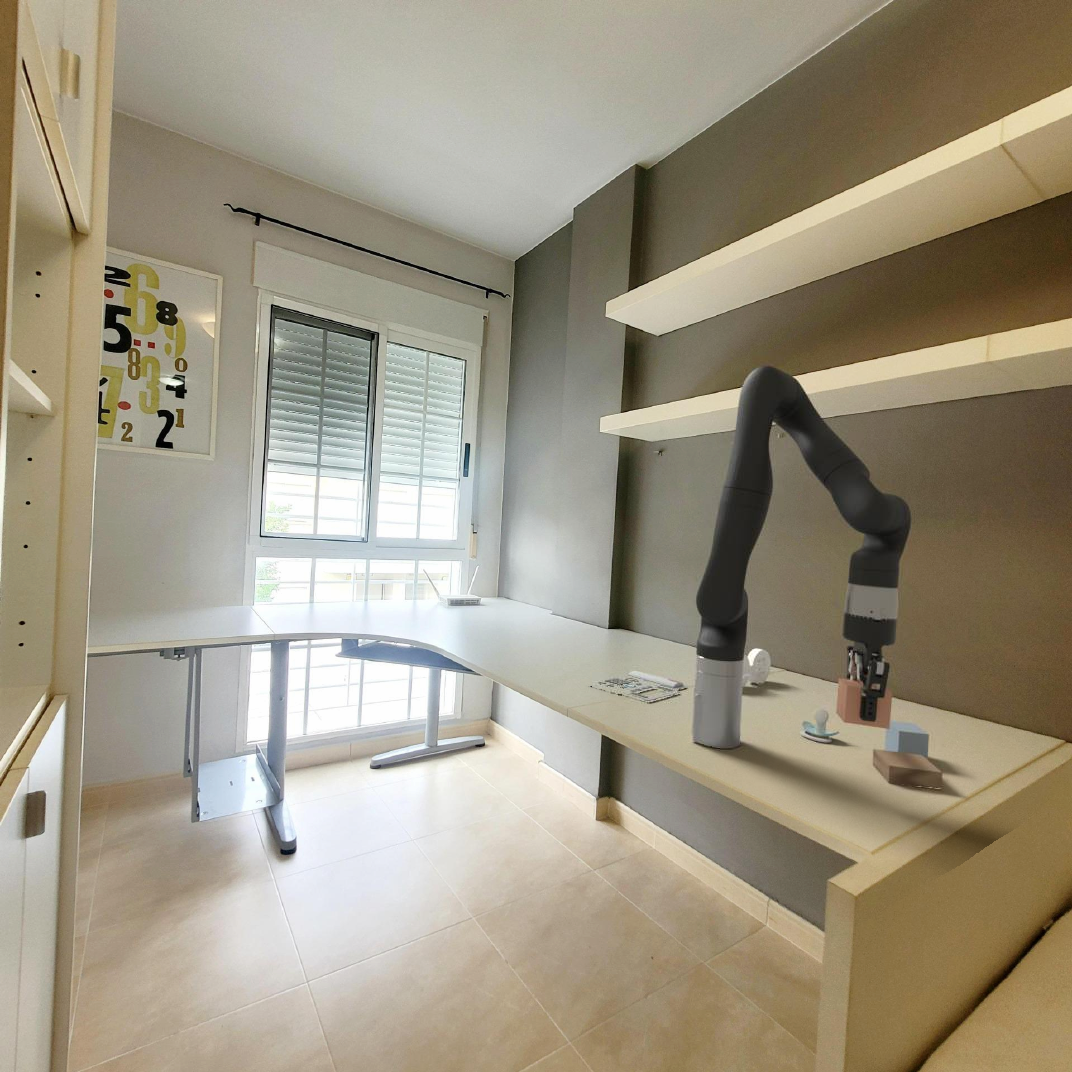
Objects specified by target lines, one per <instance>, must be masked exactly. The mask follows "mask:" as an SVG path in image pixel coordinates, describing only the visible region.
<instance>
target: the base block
mask: <svg viewBox="0 0 1072 1072" xmlns="http://www.w3.org/2000/svg"><path fill="white" fill-rule="evenodd" d="M872 766H873V767H874V768H875V770H876V771H877V772H879V773H878V774H880V775H881V776H882V777H883V778H884V779H885V781H886V782H887V783H888V784H894V785H901V784H904V785H903V786H908V785H910V786H909V787H915V786H921V787H920V788H922V787H932V788H942V789H943V772H942V771H941V770H940V769H939V768H938V767H936V765H934V764H933V763H932V762H930V760H929V759H928V760H927V759H926V758H925V757H924V756H922V755H918V754H910V753H902V752H894V751H886V750H885V749H877V748H873V750H872Z"/></svg>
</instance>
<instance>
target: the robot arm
mask: <svg viewBox="0 0 1072 1072" xmlns="http://www.w3.org/2000/svg"><path fill="white" fill-rule="evenodd" d="M736 414H737V415H736V422H735V430H734V438H733V442H732V448H731V452H730V455H729V456H730V458H729V461H728V467H727V471H726V476H725V478H724V479H725V480H724V482H723V487H722V491H721V495H720V499H719V504H718V509H717V514H716V518H715V519H716V520H715V525H714V529H713V530H714V531H713V539H712V545H711V550H710V555H709V556H708V557H709V558H708V561H707V565H706V566H705V570H704V573H703V576H702V579H701V581H700V584H699V587H698V590H697V593H696V597H695V605H696V609H697V612H698V614H699V615H700V617H701V618H700V622H701V623H700V630H699V635H698V639H697V641H696V652H695V654H696V655H695V656H696V657H695V674H694V676H695V679H694V688H693V702H692V703H693V706H692V708H693V709H692V723H691V726H692V727H691V728H692V729H691V735H692V736H693V737H692V736H691V737H692V742H693V741H694V742H693V743H697V742H698V744H701V745H703V744H704V746H706V747H707V746H708V747H710V746H712V747H711V748H717V749H735V748H738V747H739V746H740V744H741V730H742V729H741V726H742V725H741V724H742V709H743V708H742V707H743V706H742V704H743V688H744V687H743V665H744V654H745V649H746V643H747V636H748V635H747V634H748V617H749V596H748V593H747V591H746V589H745V584H746V583H745V582H746V575H747V571H748V566H749V562H750V558H751V555H752V553H753V550H754V548H755V546H756V544H757V542H758V539H759V537H760V535H761V532H762V529H763V528H764V525H765V521H766V518H767V515H768V512H769V507H770V503H771V500H772V496H773V490H774V475H773V469H772V461H771V455H770V437H771V430H772V427H773V423H774V424H776V425H777V426H778V427H780V428H781V429H782V430H783V431H784V432H786V433H787V434H788V435H789V436H790V437H791V438H792V440H793V441H794V442H795V444H796V445H797V447H798V449H799V451H800V453H801V456H802V457H803V460H804V461H805V463H806V465H807V466H808V468H809V470H810V471H811V472H812V474H813V475H814V476H815V478H816V479H818V481H819V482H820V483H821V484H822V486H824V488H825V489H826V490H827V491H828V492H829V493H830V495H831V498H832V500H833V502H834V504H835V506H836V508H837V510H838V512H839V514H840V515H841V517H842V518H843V520H844V521H845V522H846V523H847V524H848V525H849V527H850V528H852V529H853V530H855V531H857V532H859V533H861V534H864V536H863V540H862V544H861V547H860V548H859V549H857V550H856V551H854V552H852V553H851V556H850V561H849V569H848V570H849V571H848V581H847V588H846V593H845V598H844V611H843V624H842V638H844V639H845V640H848V641H851V642H853V645H847V647H846V676H845V677H846V679H848V680H854V681H859V682H860V683H861V703H860V715H859V716H860V718H861V719H862V720H864V721H871V722H874V721H875V720H876V713H877V701H878V699H880V698H884V696H885V690H886V687H887V685H888V684H887V683H888V679H889V673H890V667H891V665H890V663H889V662H886V661H885V657H884V655H883V647H884V646H888V647H889V646H893V645H895V644H896V639H897V638H896V636H897V625H898V624H897V623H898V622H897V621H898V613H899V595H898V593H899V592H898V590H899V589H898V588H899V577H900V576H899V575H900V561H901V558H902V556H903V553H904V550H905V547H906V544H907V541H908V537H909V534H910V530H911V524H912V514H911V508H910V507H909V504H908V503H907V501H905V500H904V499H903V498H901V497H900V496H897V495H895V494H890V493H885V492H881V490H880V489H878V488H877V487H876V485H874V484H873V482H872V481H871V479H870V478H871V472H870V470H869V469H868V467H867V466H866V464H865V463H864V462H863V461H862V460H861V458H860V457H859V456H857V455H856V453H855V452H854V451H853V450H852V449H851V448H850V446H848V445H847V444H846V443H845V441H843V439H841V438H840V437H839V435H837V433H836V432H835V431H834V430H833V429H832V428H831V427H830V426H829V425H828V424H827V423H826V421H824V419H823V417H822V416H821V415H820V414H819V412H818V410H817V409H816V408H815V406H814V405H813V403H812V401H811V399H810V397H809V395H808V394H807V393H806V390H805V389H804V388H803V386H802V385H801V383H800V381H799V380H797V378H796V377H793V376H792V375H790V374H788V373H787V372H784V371H783V370H781V369H779V368H777V367H774V366H771V365H761V366H759V367H756V368H755V369H754V370H752V371H751V372H750V373H749V374H748V376H747V377H746V378H745V380H744V382H743V384H742V386H741V389H740V394H739V398H738V407H737V413H736ZM872 684H874V689H871V688H872ZM742 687H743V688H742ZM737 746H738V747H737Z"/></svg>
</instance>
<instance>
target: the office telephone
mask: <svg viewBox="0 0 1072 1072" xmlns="http://www.w3.org/2000/svg"><path fill="white" fill-rule="evenodd" d="M627 675H628V676H632V677H635V678H639V679H643V680H637V679H633V678H631V677H630V678H625V680H622V679H619V678H613V677H612V678H613V679H608V678H606V679H607V680H605V682H604V683H603V682H598V683H599V684H600V685H601V684H606V682H609V683H613V684H609V685H605V686H607V687H608V686H610V687H614V684H617V685H616V686H618V685H619V686H620V685H621V686H622V687H620V688H623V689H624V688H627V687H628V688H629V687H630V688H631V689H633V688H634V689H635V690H621V691H622V692H623V693H627V694H628V693H629V694H628V695H632V696H635V697H639V698H642V699H644V700H645V701H651V700H656V699H658V698H662V697H666V696H671V695H675V694H677V693H680V694H681V692H680V691H675V690H671V689H668V688H672V689H681V688H685V687H687V688H688V686H687V685H684V683H683V682H681V681H676V680H674V679H669V678H665V677H663V676H662V677H661V676H658V675H654V674H650V673H646V672H642V671H638V670H632V671H630V672H629V673H628V674H627ZM628 679H631V680H628ZM632 679H633V680H632ZM629 681H630V682H629ZM633 681H634V682H639V681H640V682H643V683H645V684H646V682H649V681H650V683H651V682H653V683H657V684H661V685H660V686H664V687H668V688H664V687H660V686H657V685H642V684H641V683H640V682H639V683H636V685H634V684H632V682H633ZM634 682H633V683H634ZM629 683H631V684H629ZM623 684H627V685H623ZM595 686H598V685H595ZM653 687H655V688H658V689H662V690H664V691H668V692H670V693H664V694H660V695H656V696H650V697H649V696H646V695H643V694H641V693H639V694H637V693H634V692H637V691H642V690H644V689H649V688H653ZM615 691H617V690H615ZM618 691H619V692H620V690H618Z"/></svg>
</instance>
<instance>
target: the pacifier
mask: <svg viewBox="0 0 1072 1072" xmlns="http://www.w3.org/2000/svg"><path fill="white" fill-rule="evenodd" d="M813 718H814V721H815V724H814V723H811V722H810V721H806V720H805V721H802V728H803V729H804V730H801V731H800V732H799V734H800V735H801V736H803V737H804V738H806V739H809V740H811V741H814V742H819V743H823V744H825V743H832V741H833V740H832V739H831V738H830V737H834V736H836V735H839V734H840V731H826V730H827V722H828V721H829V712H828V710H826V709H825V708H823V707H818V708H817V709H815V711H814V713H813Z"/></svg>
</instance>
